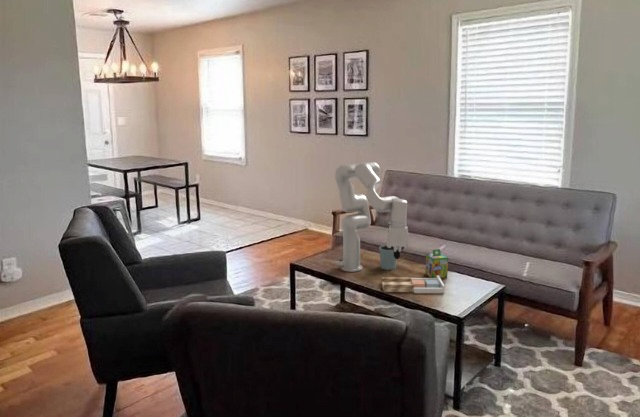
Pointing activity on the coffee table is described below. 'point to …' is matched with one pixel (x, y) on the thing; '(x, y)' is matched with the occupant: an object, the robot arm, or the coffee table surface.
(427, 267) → the chalk box
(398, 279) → the wooden tray
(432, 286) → the tile
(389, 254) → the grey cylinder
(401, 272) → the coffee table surface
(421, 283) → the tile
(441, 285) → the white u-shaped bracket
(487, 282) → the coffee table surface
